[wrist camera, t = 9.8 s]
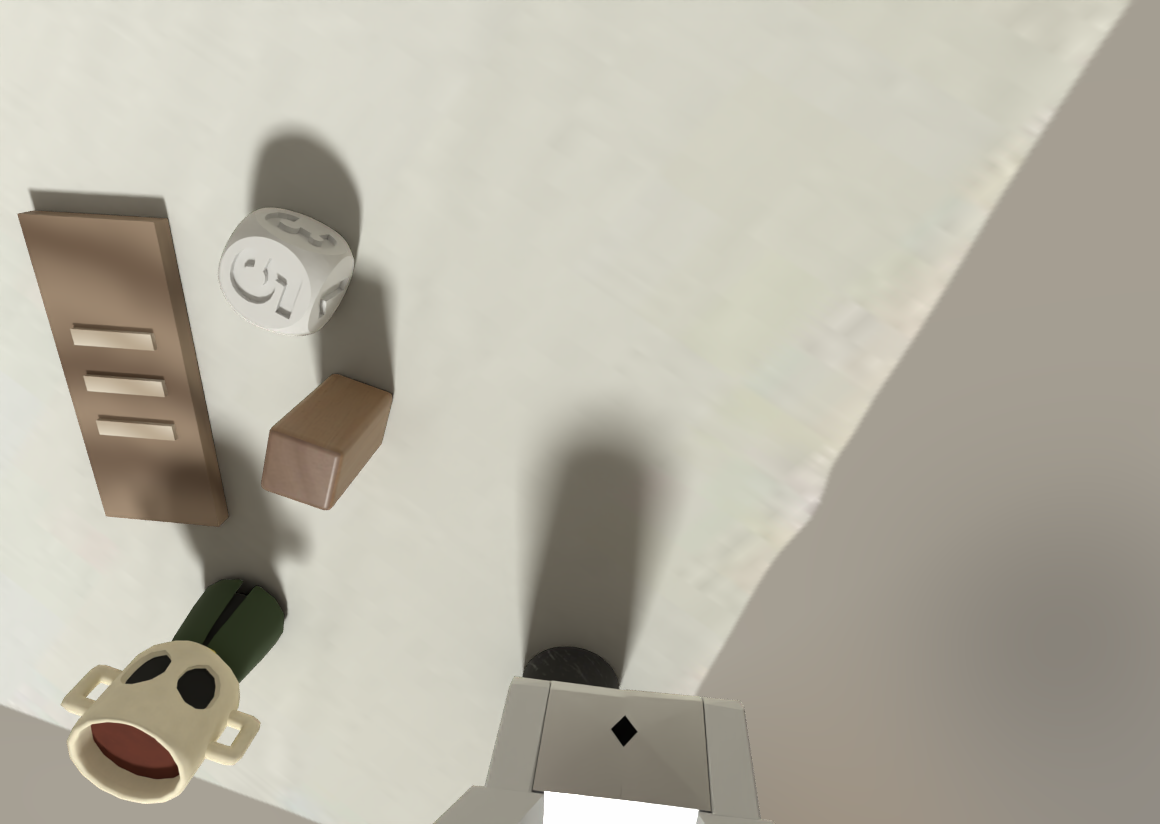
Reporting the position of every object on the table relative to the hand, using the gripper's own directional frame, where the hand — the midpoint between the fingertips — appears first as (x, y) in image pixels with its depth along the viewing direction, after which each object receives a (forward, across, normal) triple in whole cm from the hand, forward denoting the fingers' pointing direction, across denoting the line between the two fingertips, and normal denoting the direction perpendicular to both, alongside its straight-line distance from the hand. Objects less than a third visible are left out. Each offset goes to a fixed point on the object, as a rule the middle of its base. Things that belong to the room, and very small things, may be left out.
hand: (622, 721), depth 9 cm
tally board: (+31, +31, +10) cm, 45 cm away
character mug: (+31, +27, +28) cm, 50 cm away
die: (+31, +19, +2) cm, 37 cm away
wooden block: (+31, +17, +11) cm, 37 cm away
